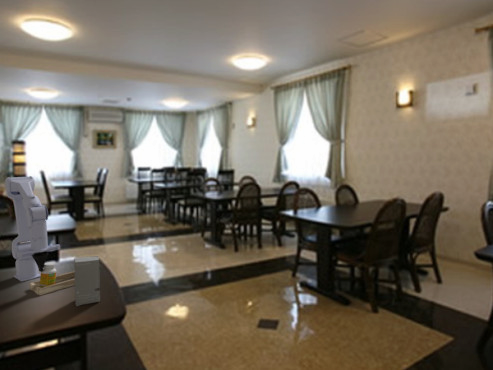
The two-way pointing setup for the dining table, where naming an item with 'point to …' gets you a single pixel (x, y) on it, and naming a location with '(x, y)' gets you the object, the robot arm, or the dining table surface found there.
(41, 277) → the supplement bottle
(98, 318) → the dining table surface
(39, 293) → the tray
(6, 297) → the dining table surface
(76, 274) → the skincare box
